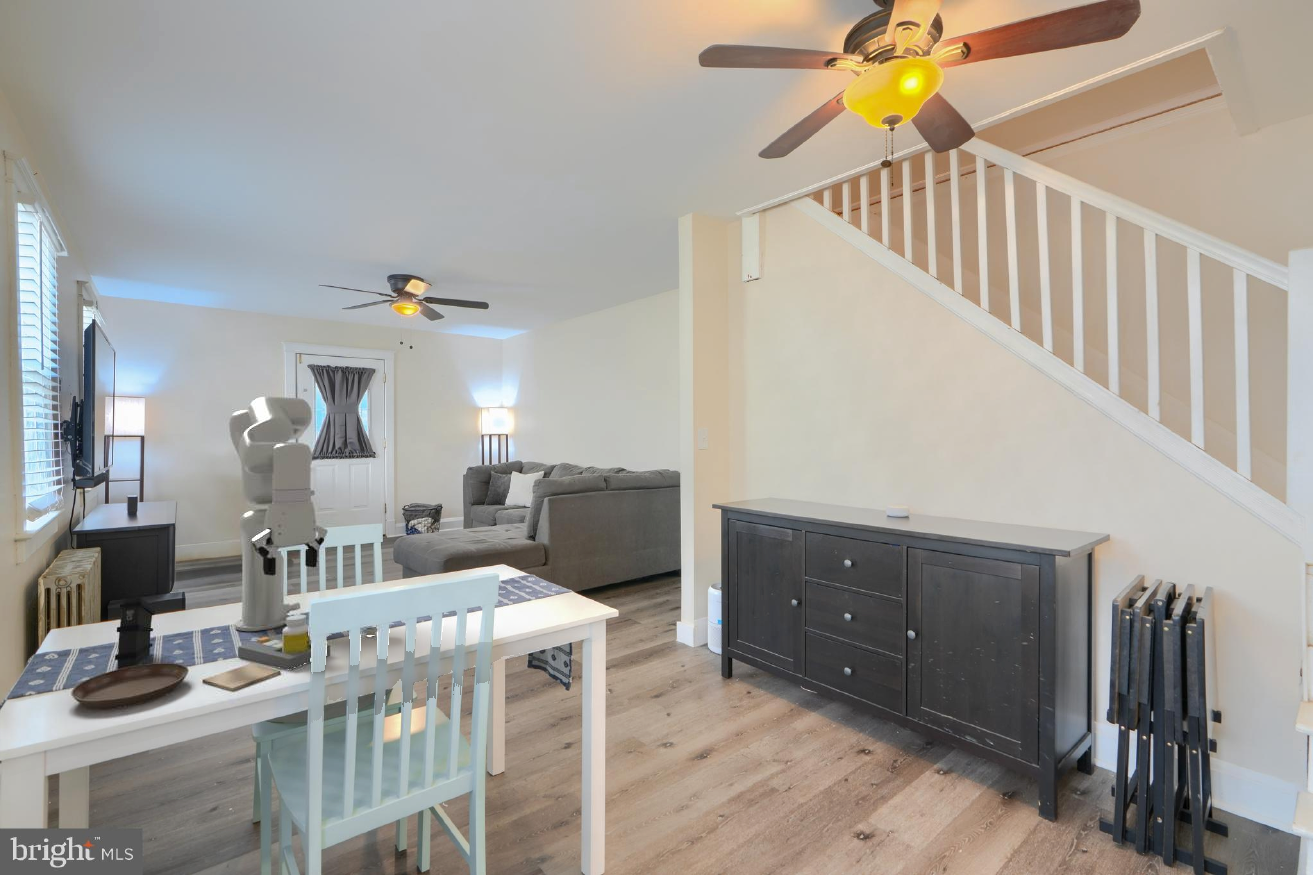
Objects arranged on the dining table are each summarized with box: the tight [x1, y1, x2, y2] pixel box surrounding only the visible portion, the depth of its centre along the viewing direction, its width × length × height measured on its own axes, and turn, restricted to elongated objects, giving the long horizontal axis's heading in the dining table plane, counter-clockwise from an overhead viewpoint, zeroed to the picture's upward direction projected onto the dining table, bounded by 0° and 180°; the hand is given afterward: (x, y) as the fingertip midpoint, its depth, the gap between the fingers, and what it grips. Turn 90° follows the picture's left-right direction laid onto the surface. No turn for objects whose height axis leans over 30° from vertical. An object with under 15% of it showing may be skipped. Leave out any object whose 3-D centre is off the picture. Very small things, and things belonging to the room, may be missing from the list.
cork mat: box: [201, 663, 281, 692], centre depth 128 cm, size 10×10×1 cm
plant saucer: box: [70, 662, 189, 710], centre depth 120 cm, size 18×18×3 cm
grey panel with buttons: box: [237, 633, 331, 671], centre depth 141 cm, size 10×18×3 cm, turn 66°
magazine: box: [114, 596, 156, 670], centre depth 137 cm, size 4×13×15 cm, turn 26°
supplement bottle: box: [282, 614, 310, 655], centre depth 139 cm, size 5×5×10 cm
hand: (291, 570), depth 139 cm, fingers open, 9 cm apart
